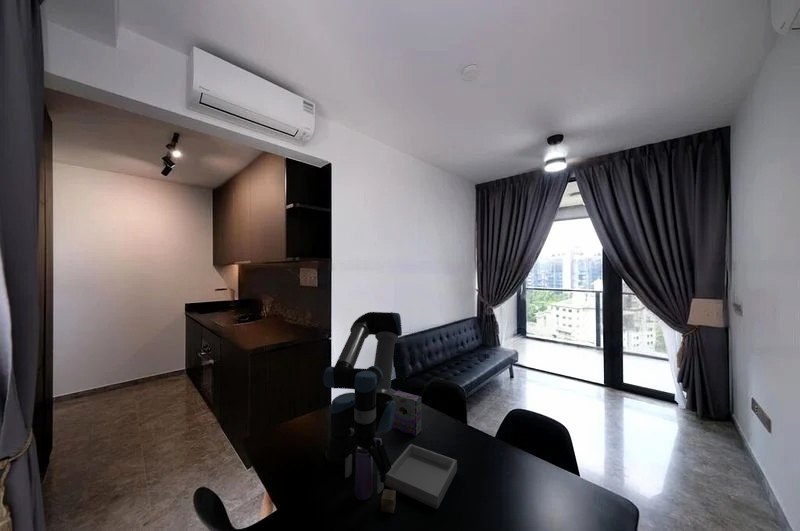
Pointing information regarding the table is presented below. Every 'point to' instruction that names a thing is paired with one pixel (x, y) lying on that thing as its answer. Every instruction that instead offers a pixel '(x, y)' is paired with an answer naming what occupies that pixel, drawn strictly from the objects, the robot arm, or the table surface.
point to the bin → (422, 475)
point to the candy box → (407, 413)
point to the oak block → (388, 501)
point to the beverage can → (363, 474)
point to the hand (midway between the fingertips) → (363, 482)
